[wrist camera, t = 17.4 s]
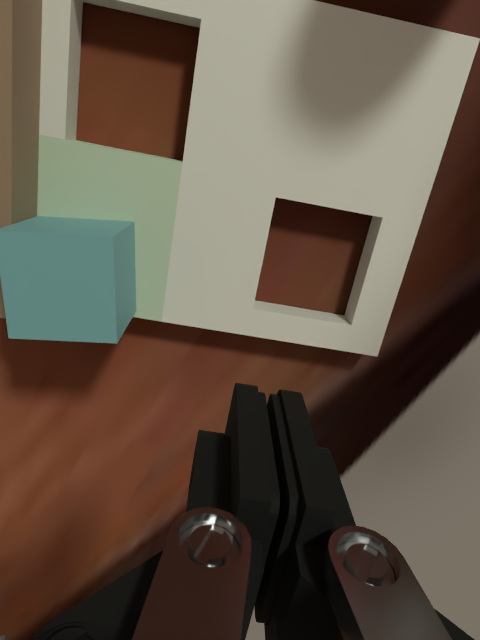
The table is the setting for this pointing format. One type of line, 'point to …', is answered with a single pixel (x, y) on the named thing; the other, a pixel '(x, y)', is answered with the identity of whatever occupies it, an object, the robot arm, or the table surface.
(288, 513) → the robot arm
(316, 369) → the table surface
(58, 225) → the block
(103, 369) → the table surface
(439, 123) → the tray
